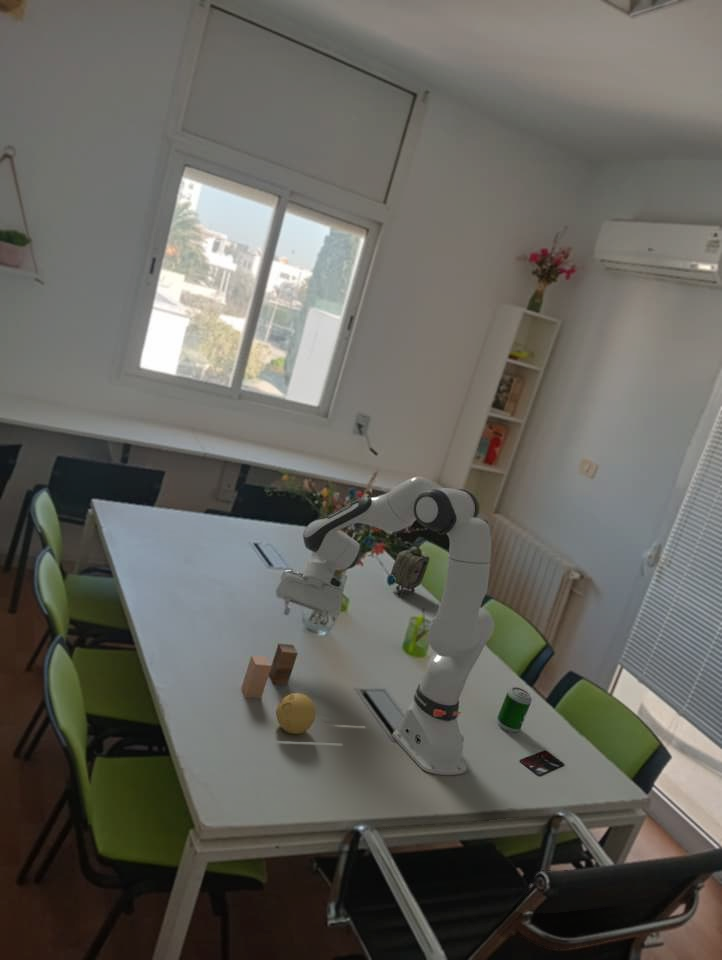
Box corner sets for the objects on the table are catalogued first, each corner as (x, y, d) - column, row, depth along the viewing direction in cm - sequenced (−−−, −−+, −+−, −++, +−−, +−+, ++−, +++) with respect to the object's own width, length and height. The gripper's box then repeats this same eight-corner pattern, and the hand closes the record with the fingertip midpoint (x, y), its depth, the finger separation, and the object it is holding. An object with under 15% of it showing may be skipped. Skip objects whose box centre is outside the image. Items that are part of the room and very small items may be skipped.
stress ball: (311, 735, 191) (305, 697, 196) (323, 726, 183) (317, 686, 188) (274, 740, 187) (269, 700, 192) (285, 730, 179) (279, 689, 184)
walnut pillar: (287, 684, 209) (297, 653, 207) (272, 683, 207) (282, 651, 205) (283, 675, 213) (293, 644, 211) (268, 674, 211) (278, 643, 209)
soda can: (514, 737, 222) (528, 702, 219) (492, 724, 225) (505, 689, 223) (522, 729, 228) (536, 695, 226) (500, 716, 232) (514, 683, 229)
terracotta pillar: (261, 698, 198) (271, 665, 196) (245, 697, 196) (255, 664, 194) (257, 689, 202) (267, 656, 200) (241, 687, 200) (251, 655, 198)
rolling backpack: (402, 599, 304) (421, 543, 299) (384, 589, 308) (403, 534, 303) (417, 593, 316) (436, 539, 311) (400, 584, 321) (418, 531, 315)
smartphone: (565, 764, 215) (539, 775, 205) (564, 766, 216) (538, 777, 205) (545, 749, 220) (518, 759, 209) (544, 751, 220) (517, 761, 210)
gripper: (285, 563, 224) (267, 603, 216) (349, 585, 222) (334, 627, 215) (284, 572, 229) (267, 611, 221) (346, 594, 227) (332, 634, 220)
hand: (300, 619), depth 218 cm, fingers open, 8 cm apart
